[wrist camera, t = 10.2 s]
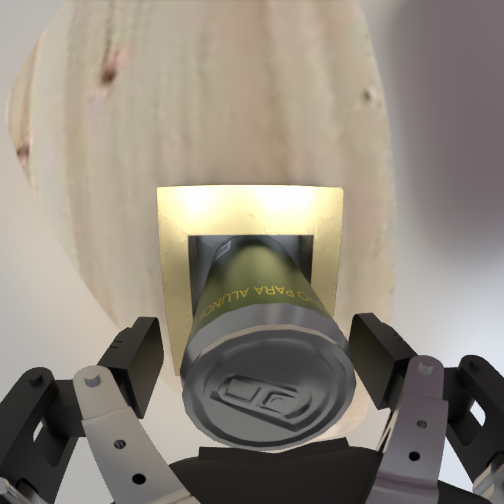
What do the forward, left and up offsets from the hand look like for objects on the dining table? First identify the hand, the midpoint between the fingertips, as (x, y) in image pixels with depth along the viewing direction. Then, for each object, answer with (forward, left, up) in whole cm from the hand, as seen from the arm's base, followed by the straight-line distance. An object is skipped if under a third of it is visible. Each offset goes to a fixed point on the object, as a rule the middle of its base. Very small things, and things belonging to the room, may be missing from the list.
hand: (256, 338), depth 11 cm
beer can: (0, 0, -8) cm, 8 cm away
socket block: (0, 0, -9) cm, 9 cm away
